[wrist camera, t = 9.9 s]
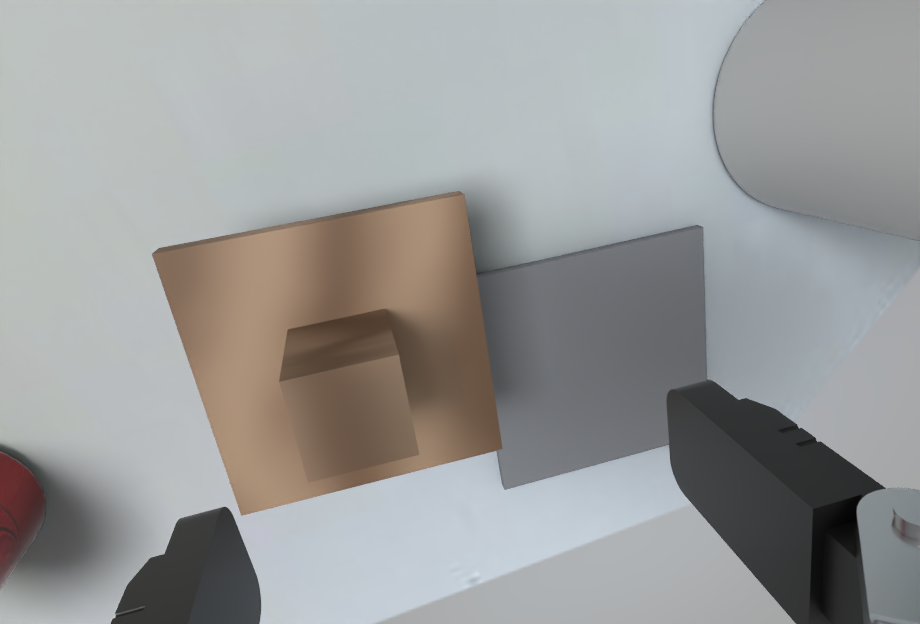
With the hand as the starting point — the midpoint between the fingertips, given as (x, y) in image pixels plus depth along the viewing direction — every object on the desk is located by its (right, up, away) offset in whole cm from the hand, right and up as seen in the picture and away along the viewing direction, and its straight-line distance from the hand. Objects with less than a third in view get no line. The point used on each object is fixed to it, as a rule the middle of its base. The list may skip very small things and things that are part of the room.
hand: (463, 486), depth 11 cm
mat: (+8, 0, +26) cm, 28 cm away
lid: (-5, +1, +16) cm, 16 cm away
